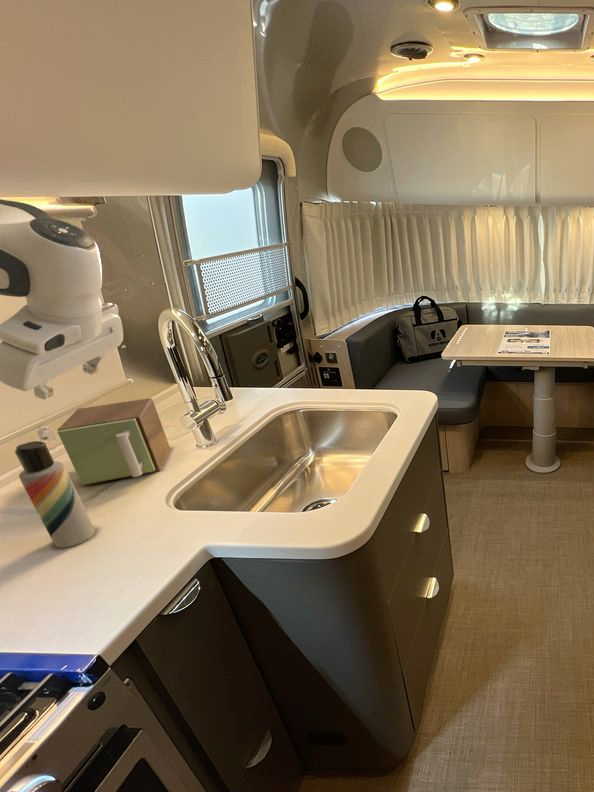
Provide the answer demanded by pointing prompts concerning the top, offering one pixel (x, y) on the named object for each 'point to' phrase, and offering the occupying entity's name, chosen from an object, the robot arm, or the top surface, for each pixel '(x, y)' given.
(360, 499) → the top surface
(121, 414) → the cabinet
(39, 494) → the lotion bottle
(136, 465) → the door
